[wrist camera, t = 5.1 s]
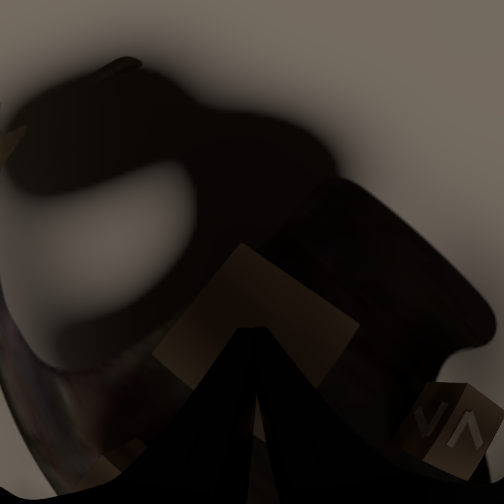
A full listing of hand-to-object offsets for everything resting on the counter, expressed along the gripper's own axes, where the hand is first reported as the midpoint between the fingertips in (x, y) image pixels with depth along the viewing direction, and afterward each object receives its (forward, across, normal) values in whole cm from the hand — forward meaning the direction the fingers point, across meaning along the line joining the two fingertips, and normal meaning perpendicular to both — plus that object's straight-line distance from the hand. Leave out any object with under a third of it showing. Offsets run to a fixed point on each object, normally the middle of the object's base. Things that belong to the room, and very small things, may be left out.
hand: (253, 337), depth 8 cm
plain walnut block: (+7, 0, +7) cm, 10 cm away
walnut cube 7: (+2, -12, +13) cm, 17 cm away
